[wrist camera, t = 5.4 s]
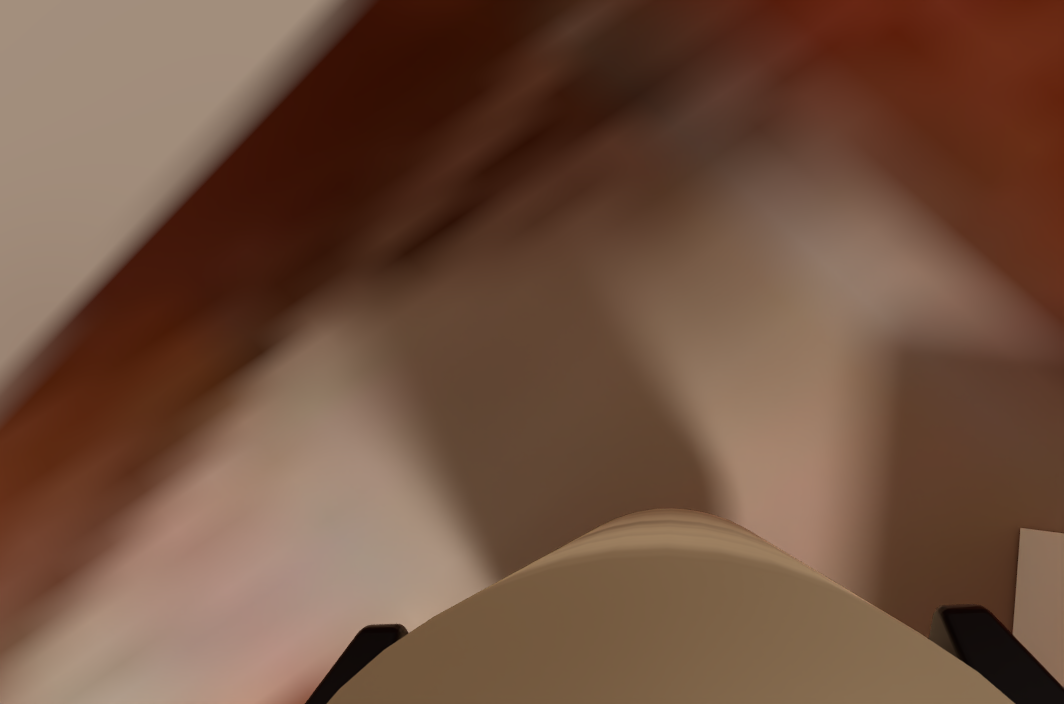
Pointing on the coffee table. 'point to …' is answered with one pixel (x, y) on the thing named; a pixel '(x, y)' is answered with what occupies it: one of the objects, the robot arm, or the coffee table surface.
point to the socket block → (1041, 598)
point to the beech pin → (666, 631)
